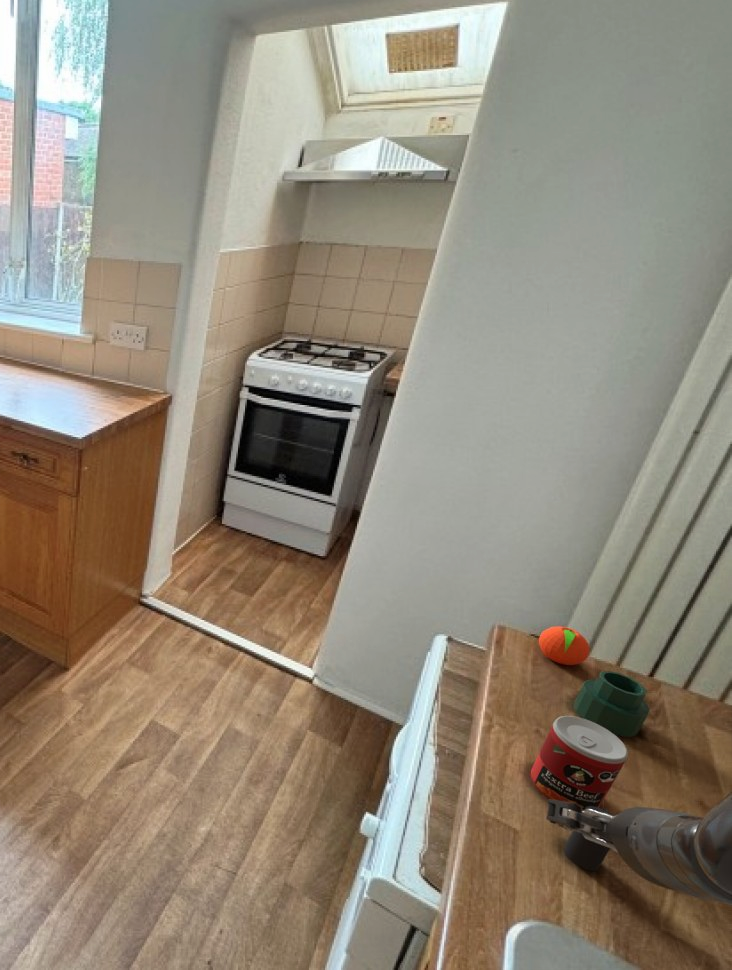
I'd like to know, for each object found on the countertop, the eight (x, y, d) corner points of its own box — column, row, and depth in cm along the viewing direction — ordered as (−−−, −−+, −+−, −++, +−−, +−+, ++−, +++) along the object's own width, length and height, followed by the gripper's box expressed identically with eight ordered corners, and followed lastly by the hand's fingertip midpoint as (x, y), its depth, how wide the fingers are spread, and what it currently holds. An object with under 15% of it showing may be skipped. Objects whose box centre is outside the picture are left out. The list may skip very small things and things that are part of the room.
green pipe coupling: (639, 722, 101) (659, 685, 98) (633, 746, 96) (654, 709, 93) (577, 694, 106) (594, 659, 103) (568, 716, 102) (586, 679, 99)
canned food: (526, 792, 89) (552, 737, 84) (531, 759, 94) (556, 706, 90) (597, 828, 84) (629, 771, 79) (598, 791, 89) (628, 736, 85)
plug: (599, 862, 79) (623, 820, 76) (594, 878, 77) (619, 836, 74) (565, 842, 82) (587, 801, 79) (560, 857, 80) (582, 816, 77)
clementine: (581, 682, 109) (596, 651, 107) (531, 663, 114) (545, 633, 111) (581, 659, 115) (596, 629, 112) (534, 642, 119) (547, 613, 116)
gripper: (785, 851, 59) (689, 835, 72) (590, 779, 66) (536, 776, 79) (785, 936, 57) (686, 903, 70) (584, 852, 64) (529, 836, 77)
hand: (606, 836), depth 75 cm, fingers open, 8 cm apart
